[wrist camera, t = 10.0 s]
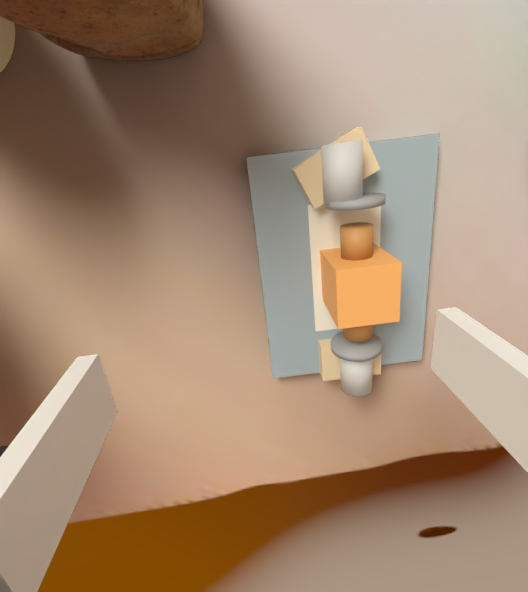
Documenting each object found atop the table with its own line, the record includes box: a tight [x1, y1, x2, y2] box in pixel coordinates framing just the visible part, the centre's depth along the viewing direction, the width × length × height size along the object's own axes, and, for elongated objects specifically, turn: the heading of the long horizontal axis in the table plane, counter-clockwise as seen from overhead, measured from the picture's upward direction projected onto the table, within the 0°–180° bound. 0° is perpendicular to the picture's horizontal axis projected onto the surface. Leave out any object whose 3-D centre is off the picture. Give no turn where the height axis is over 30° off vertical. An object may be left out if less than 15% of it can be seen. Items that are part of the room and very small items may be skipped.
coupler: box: [320, 222, 402, 342], centre depth 29 cm, size 5×10×6 cm, turn 7°
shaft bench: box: [246, 126, 440, 397], centre depth 30 cm, size 16×23×7 cm
